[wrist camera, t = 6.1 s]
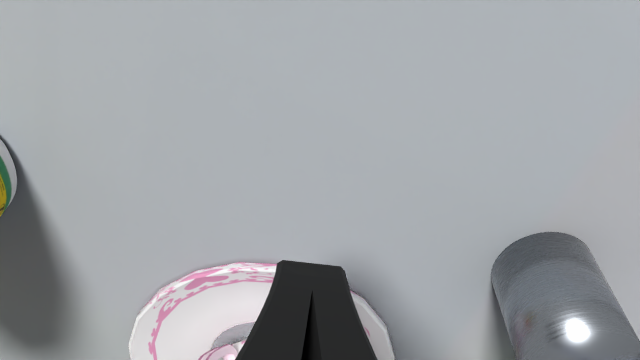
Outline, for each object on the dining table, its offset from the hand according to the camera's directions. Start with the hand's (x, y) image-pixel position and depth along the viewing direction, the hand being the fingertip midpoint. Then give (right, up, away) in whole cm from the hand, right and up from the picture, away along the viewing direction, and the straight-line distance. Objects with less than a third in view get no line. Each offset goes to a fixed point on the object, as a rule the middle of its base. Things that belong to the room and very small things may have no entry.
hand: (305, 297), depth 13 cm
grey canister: (+9, -1, +11) cm, 15 cm away
